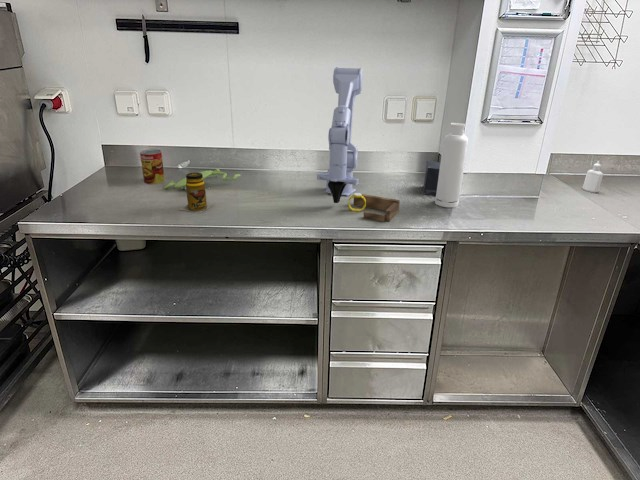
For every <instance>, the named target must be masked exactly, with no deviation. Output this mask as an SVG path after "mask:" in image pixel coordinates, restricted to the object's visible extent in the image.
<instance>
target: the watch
mask: <svg viewBox="0 0 640 480" xmlns="http://www.w3.org/2000/svg"><path fill="white" fill-rule="evenodd" d="M362 194H363V193H360V192H355V193H354V192H353V195H350V197H349V198H348V201H347V206H348V208H349V210H350V211H352V212H362V211H363V210H365V209H366V207H365V206H366V200H365V198H364V197H363V196H362ZM354 197H361V198H363V200H364V201H365V205H364V207H361V208H360V209H359V208H353V207H352V206H351V204H350V201H351V200H352V199H354Z"/></svg>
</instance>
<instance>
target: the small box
mask: <svg viewBox="0 0 640 480" xmlns="http://www.w3.org/2000/svg"><path fill="white" fill-rule="evenodd" d="M440 163H441V161H432V160H430V161H429V160H426V167H425V173H424V181H423V190H422V192H423V194H424V195H431V196H432V195H433V196H436V192H437V185H438V177H439V170H440Z"/></svg>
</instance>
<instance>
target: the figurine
mask: <svg viewBox="0 0 640 480" xmlns="http://www.w3.org/2000/svg"><path fill="white" fill-rule="evenodd" d="M198 173H201V174H202V175H203V180H205V179H207V178H209V177H210V178H211V177H214V176H215V175H216V178H217V176H222V177H221V179H222V181H235V180H236V179H238V178H241V174H240V173H237V174H234V175H233V177H227V176H228V174H227V172H223V171H220V168H216V169H215V170H214V171H213V170H203V171H198ZM186 182H187V181H186V177H184V178H182V179H180V180H179V181H178V182H175V180H170V182H169V183H167V184H166V185H164V186H163V187H164V189H165V190H167V189H169V188H171V187H172V186H174V188H176V189H178V188H180V189H181V190H185V191H186Z"/></svg>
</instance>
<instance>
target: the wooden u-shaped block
mask: <svg viewBox="0 0 640 480" xmlns="http://www.w3.org/2000/svg"><path fill="white" fill-rule="evenodd" d="M361 194H362V196H363V197H364V198H365V200H366V206H365V208H370V209H375V210H380V211H385V214H382V213H377V212H371V211H364V212H363V216H362V217H363V219H367V220H372V221H377V222H391V220H392V219H394V218H395V216H396V215H397V214H398V213H399V212H400V202H401V201H400V199H394V198H390V197H389V198H388V197H383V196H376V195H371V194H366V193H365V194H364V193H361ZM352 204H353V206H358V207H361V208H363V207H364V205H365V201H364V200H363V198H361V197H353V203H352Z"/></svg>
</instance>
